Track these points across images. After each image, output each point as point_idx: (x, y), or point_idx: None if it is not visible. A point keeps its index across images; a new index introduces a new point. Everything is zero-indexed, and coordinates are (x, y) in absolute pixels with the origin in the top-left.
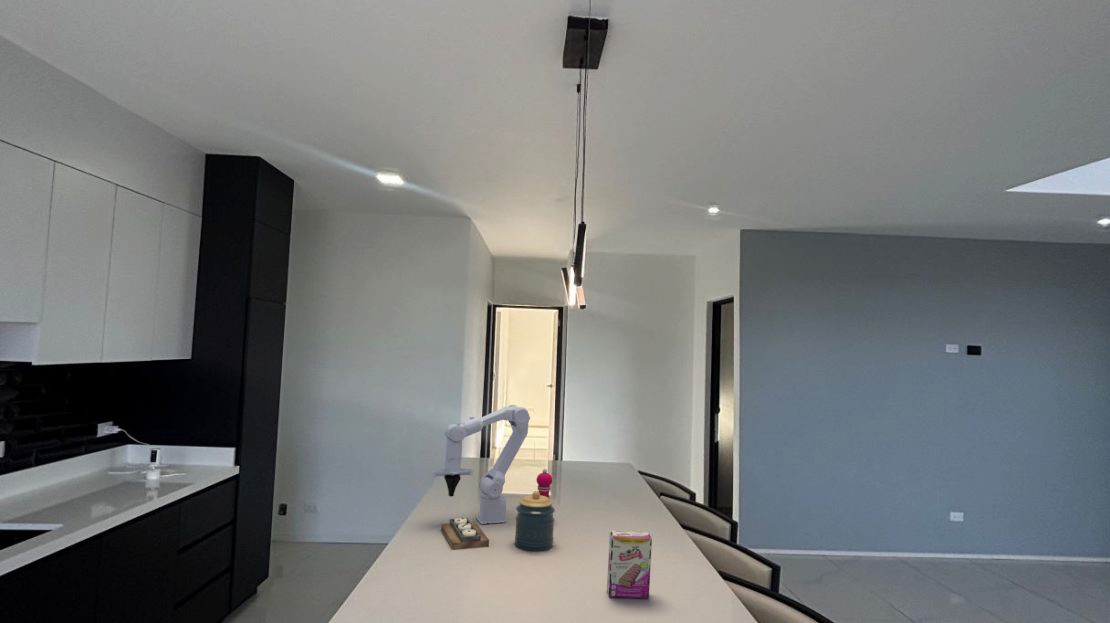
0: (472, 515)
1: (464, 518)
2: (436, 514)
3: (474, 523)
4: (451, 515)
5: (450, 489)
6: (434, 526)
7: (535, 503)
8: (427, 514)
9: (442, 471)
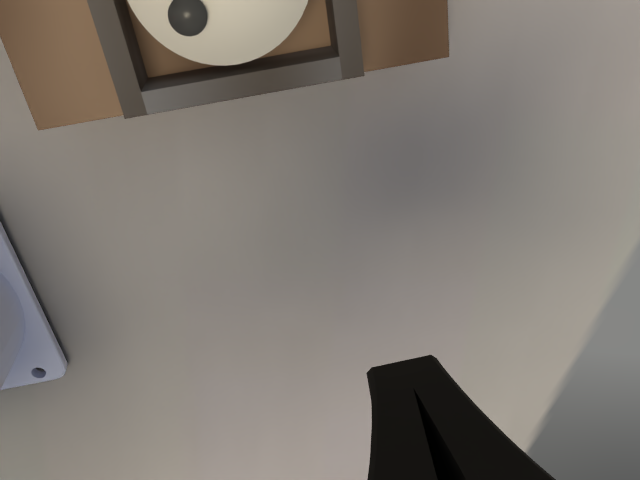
0: (112, 426)
1: (159, 18)
2: None
3: (28, 43)
4: (297, 418)
5: (486, 441)
6: (478, 148)
7: None
8: None
9: None
